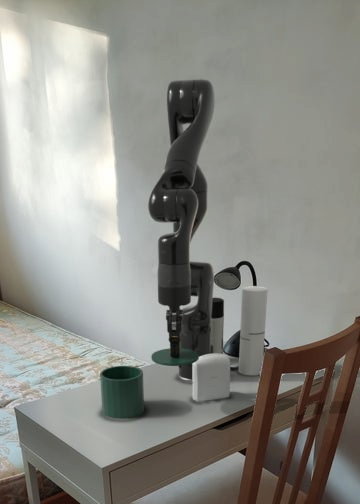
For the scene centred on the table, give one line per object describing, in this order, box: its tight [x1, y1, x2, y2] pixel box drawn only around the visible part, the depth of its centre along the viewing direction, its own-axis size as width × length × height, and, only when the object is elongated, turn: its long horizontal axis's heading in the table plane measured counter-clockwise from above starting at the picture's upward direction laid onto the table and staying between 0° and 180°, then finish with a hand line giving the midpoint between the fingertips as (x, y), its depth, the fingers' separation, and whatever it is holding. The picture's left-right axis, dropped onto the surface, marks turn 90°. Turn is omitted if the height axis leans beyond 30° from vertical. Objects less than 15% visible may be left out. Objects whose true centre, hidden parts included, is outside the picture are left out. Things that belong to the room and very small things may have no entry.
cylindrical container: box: [238, 285, 268, 376], centre depth 156 cm, size 7×7×25 cm
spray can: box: [211, 297, 225, 354], centre depth 165 cm, size 7×7×20 cm
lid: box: [150, 336, 199, 367], centre depth 127 cm, size 11×11×6 cm
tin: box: [99, 365, 145, 420], centre depth 132 cm, size 10×10×10 cm
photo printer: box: [191, 353, 231, 402], centre depth 139 cm, size 10×4×12 cm, turn 109°
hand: (175, 354), depth 127 cm, fingers closed on lid, 2 cm apart
